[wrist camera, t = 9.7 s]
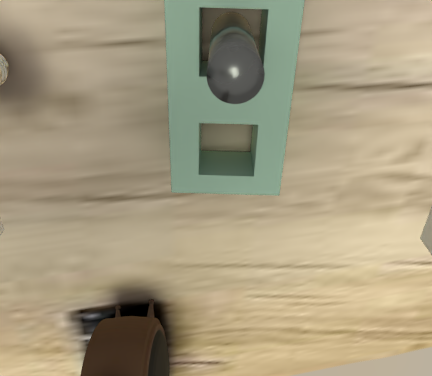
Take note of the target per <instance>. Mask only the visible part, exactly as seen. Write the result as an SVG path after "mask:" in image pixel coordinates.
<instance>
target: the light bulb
mask: <svg viewBox="0 0 432 376" xmlns="http://www.w3.org/2000/svg"><path fill="white" fill-rule="evenodd" d="M8 73H9V64H8V62H7V60H6V59H5V57H4V56H3V55H1V54H0V85H1V84H3V83H4V82H5V81H6V79H7V77H8Z"/></svg>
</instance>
